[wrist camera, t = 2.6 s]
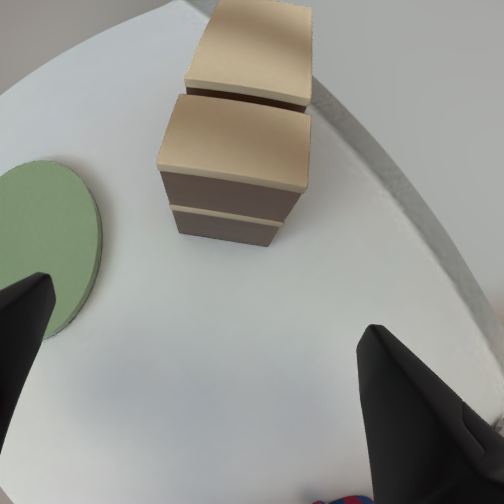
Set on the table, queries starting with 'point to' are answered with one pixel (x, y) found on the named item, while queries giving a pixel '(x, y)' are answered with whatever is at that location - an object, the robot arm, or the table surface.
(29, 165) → the plate
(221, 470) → the table surface
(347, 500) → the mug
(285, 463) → the table surface
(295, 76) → the cake loaf
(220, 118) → the cake slice
